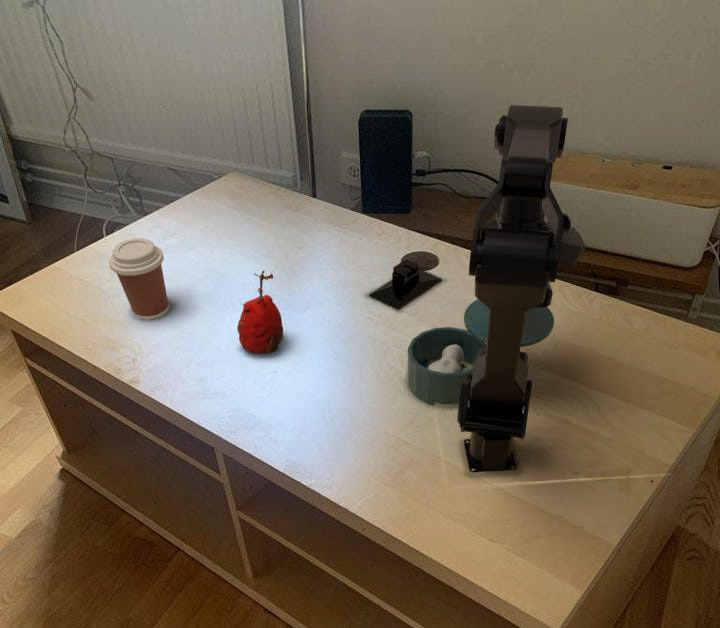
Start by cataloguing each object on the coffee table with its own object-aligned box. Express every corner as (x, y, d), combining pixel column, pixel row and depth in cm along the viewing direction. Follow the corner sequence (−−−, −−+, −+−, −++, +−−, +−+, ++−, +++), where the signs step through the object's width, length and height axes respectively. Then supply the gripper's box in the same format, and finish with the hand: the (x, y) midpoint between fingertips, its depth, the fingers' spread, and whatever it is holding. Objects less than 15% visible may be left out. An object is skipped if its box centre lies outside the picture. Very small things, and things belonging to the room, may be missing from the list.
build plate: (398, 311, 126) (397, 287, 123) (367, 296, 130) (366, 273, 126) (442, 280, 132) (443, 257, 129) (411, 267, 136) (411, 244, 132)
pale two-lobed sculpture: (445, 401, 110) (418, 383, 111) (469, 371, 115) (443, 354, 115) (454, 383, 107) (426, 364, 107) (479, 353, 111) (451, 336, 112)
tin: (489, 404, 108) (493, 372, 104) (411, 408, 108) (412, 377, 104) (477, 356, 116) (481, 325, 112) (405, 360, 116) (405, 329, 112)
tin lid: (561, 349, 100) (569, 311, 96) (469, 353, 100) (472, 315, 96) (543, 298, 109) (549, 260, 104) (458, 302, 109) (461, 265, 105)
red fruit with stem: (268, 327, 124) (255, 248, 113) (295, 344, 121) (284, 263, 110) (233, 347, 121) (216, 267, 110) (259, 365, 117) (245, 284, 106)
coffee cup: (140, 292, 134) (122, 232, 125) (185, 298, 132) (169, 237, 123) (116, 320, 128) (95, 259, 119) (162, 327, 126) (144, 265, 117)
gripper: (604, 245, 86) (580, 352, 97) (569, 176, 98) (551, 277, 110) (510, 249, 86) (497, 356, 97) (487, 180, 98) (478, 281, 110)
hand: (508, 315), depth 103 cm, fingers closed on tin lid, 3 cm apart
